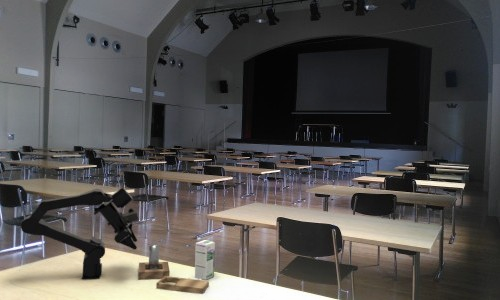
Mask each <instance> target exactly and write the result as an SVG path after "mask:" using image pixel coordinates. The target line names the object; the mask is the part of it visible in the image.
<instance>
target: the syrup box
mask: <svg viewBox="0 0 500 300" xmlns="http://www.w3.org/2000/svg"><path fill="white" fill-rule="evenodd" d="M215 249H216V242H215V241H214V240H208V239H203V240H201V241H197V242H195V252H194V254H195V255H194V256H195V257H194V259H195V260H194V262H195V263H194V278H197V279H198V280H204V281H208V279H211V278H213V277H215V256H216V255H215V252H216V251H215Z"/></svg>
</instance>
